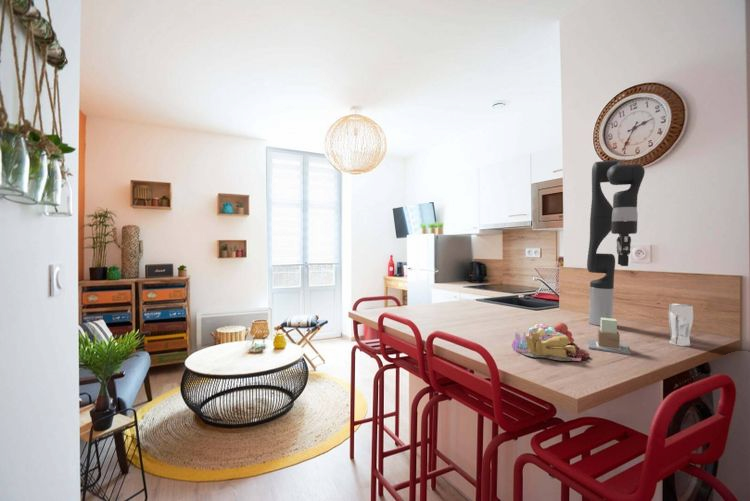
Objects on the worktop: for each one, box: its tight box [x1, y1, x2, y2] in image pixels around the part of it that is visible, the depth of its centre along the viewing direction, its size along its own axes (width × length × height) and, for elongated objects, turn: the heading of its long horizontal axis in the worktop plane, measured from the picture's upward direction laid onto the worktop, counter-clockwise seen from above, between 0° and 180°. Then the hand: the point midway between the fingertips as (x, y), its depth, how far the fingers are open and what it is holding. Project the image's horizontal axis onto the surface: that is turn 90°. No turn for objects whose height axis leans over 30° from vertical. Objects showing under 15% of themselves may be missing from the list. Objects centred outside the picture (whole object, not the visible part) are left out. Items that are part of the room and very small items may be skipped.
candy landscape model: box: [511, 322, 591, 362], centre depth 119 cm, size 25×24×9 cm
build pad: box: [587, 338, 632, 356], centre depth 124 cm, size 12×12×1 cm
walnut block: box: [597, 328, 621, 349], centre depth 124 cm, size 6×6×5 cm
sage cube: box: [599, 317, 618, 334], centre depth 124 cm, size 4×4×4 cm
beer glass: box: [668, 302, 694, 347], centre depth 130 cm, size 7×7×15 cm
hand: (622, 265), depth 124 cm, fingers open, 8 cm apart
